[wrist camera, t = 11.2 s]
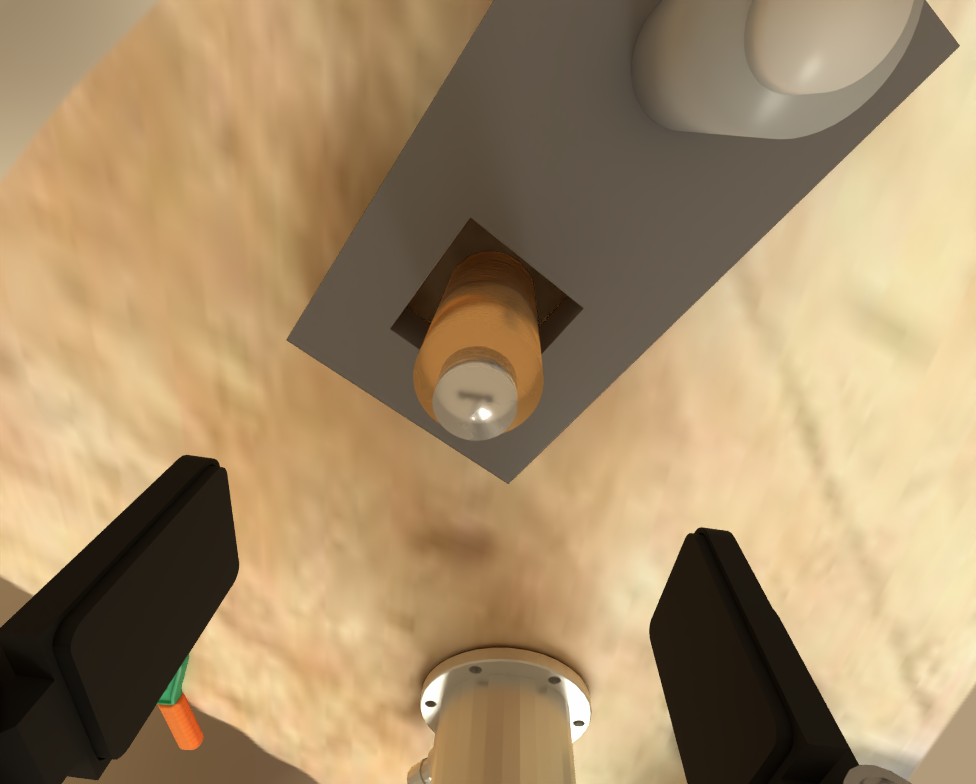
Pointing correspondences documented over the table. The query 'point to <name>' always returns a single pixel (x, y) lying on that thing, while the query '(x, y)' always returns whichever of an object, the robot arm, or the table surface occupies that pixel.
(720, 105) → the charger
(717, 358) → the table surface
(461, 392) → the amber bottle
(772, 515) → the table surface
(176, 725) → the magnifying glass
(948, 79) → the table surface
